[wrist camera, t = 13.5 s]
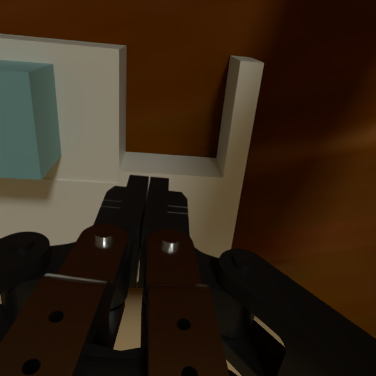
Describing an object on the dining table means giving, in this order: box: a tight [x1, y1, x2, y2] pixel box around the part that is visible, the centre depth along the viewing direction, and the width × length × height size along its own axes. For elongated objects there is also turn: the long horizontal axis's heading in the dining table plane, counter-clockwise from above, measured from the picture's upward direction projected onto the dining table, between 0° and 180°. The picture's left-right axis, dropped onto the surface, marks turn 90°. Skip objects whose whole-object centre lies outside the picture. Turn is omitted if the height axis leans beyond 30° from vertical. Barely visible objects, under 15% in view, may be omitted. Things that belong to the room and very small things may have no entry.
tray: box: [0, 34, 264, 282], centre depth 25 cm, size 18×31×6 cm, turn 85°
